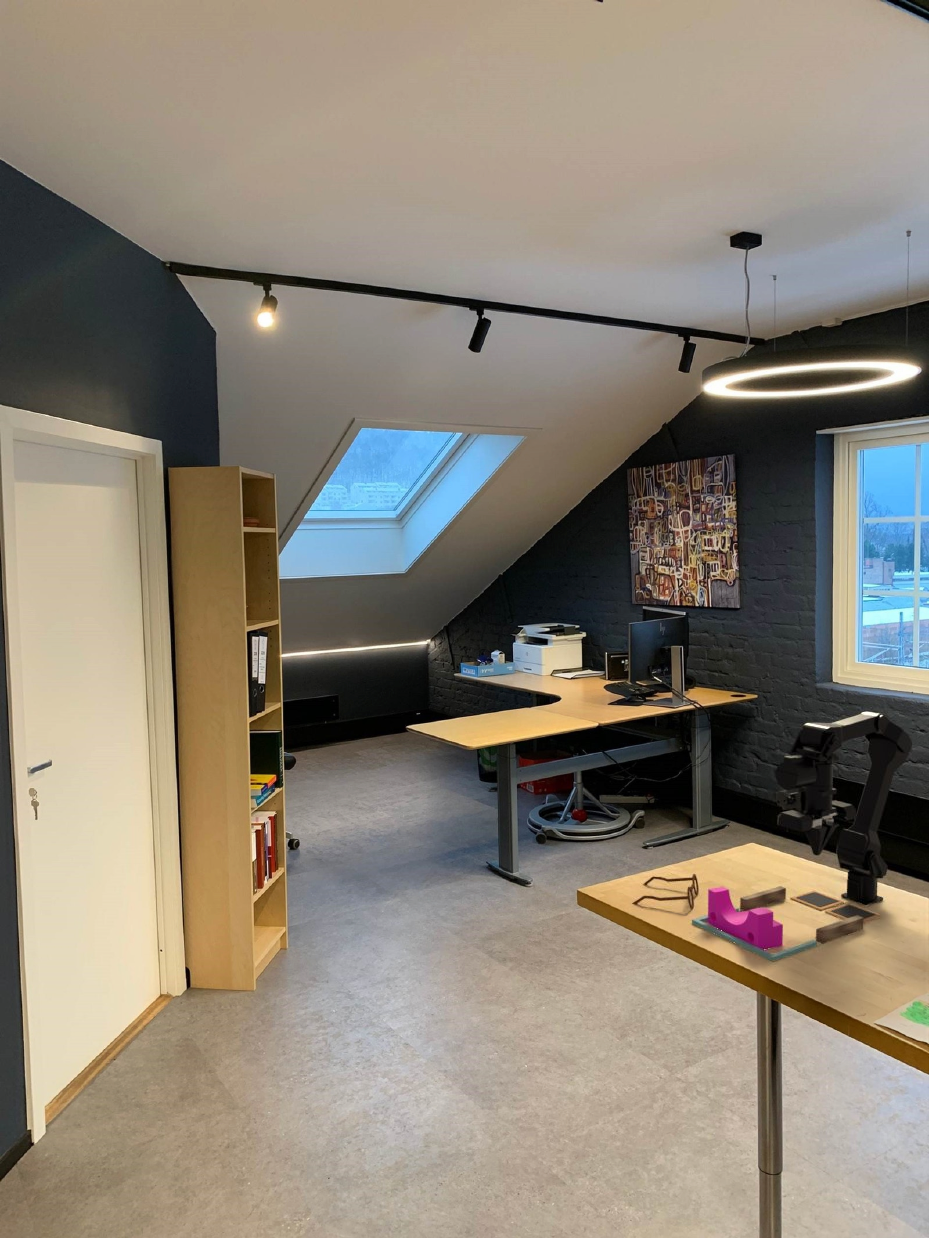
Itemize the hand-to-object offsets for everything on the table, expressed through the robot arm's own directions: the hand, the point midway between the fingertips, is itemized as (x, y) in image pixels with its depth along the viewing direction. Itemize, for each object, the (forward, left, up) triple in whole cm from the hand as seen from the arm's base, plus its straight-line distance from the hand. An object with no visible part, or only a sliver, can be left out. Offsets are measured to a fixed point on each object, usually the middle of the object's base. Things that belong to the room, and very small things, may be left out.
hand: (816, 854), depth 193 cm
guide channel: (+5, 0, -13) cm, 14 cm away
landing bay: (+19, 0, -13) cm, 23 cm away
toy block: (+21, -1, -13) cm, 25 cm away
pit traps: (-7, 0, -13) cm, 15 cm away
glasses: (+20, -24, -14) cm, 34 cm away
